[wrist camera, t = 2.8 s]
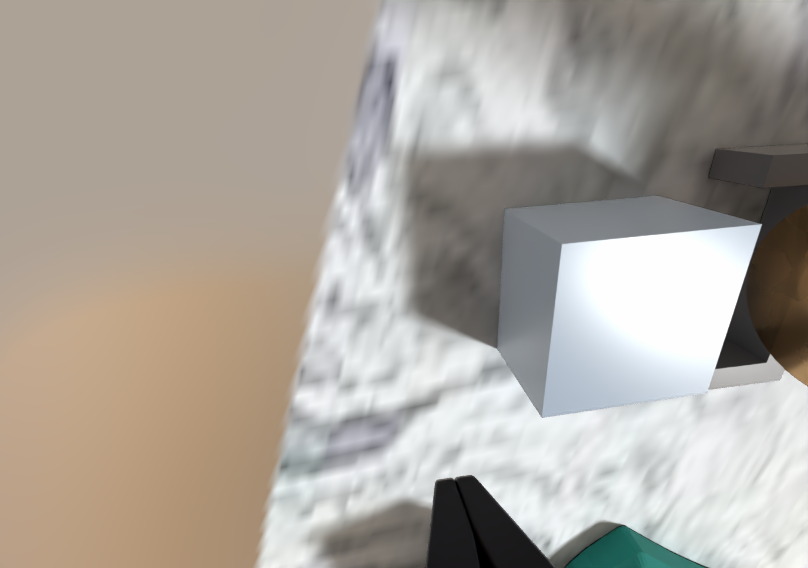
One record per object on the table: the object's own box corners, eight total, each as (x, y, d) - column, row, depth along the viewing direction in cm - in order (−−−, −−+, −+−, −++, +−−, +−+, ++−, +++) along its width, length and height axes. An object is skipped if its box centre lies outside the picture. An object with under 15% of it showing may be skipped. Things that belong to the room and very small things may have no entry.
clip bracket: (810, 143, 18) (880, 148, 15) (735, 352, 22) (779, 380, 20) (716, 149, 17) (773, 155, 15) (658, 361, 21) (695, 391, 19)
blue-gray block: (674, 192, 18) (788, 221, 13) (644, 328, 21) (729, 389, 16) (502, 207, 17) (562, 244, 12) (496, 347, 20) (541, 417, 15)
